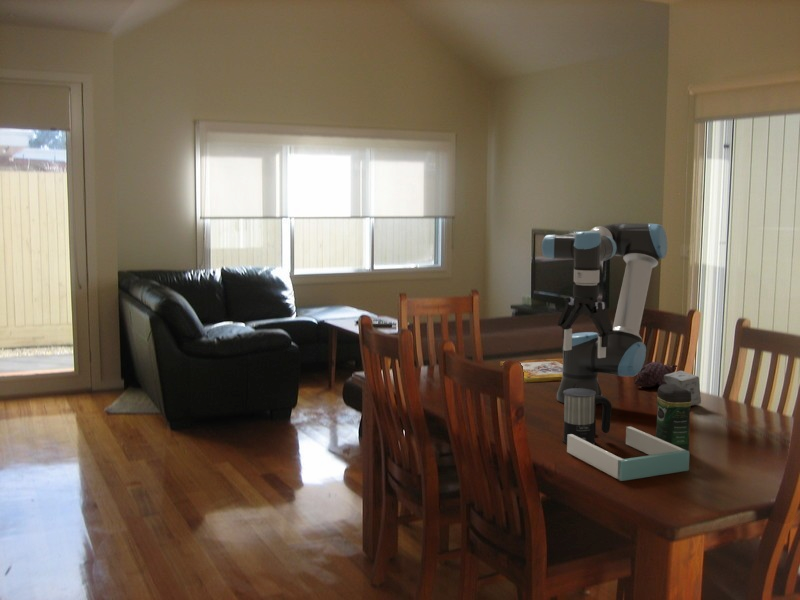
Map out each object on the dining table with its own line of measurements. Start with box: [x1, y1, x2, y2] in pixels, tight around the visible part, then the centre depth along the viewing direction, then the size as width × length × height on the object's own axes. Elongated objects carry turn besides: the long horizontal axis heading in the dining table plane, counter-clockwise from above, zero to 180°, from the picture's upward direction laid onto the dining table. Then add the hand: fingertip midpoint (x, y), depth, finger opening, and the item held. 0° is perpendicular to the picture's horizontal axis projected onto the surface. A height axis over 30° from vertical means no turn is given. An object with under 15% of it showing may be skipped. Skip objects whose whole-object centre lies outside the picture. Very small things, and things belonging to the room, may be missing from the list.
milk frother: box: [562, 388, 613, 445], centre depth 246 cm, size 14×16×15 cm
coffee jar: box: [655, 384, 691, 452], centre depth 233 cm, size 10×8×19 cm
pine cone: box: [634, 361, 678, 389], centre depth 307 cm, size 18×10×10 cm
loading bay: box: [566, 426, 690, 482], centre depth 226 cm, size 24×21×5 cm
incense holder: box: [664, 370, 702, 406], centre depth 283 cm, size 10×8×10 cm
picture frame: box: [499, 358, 563, 383], centre depth 332 cm, size 27×2×30 cm
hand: (584, 353), depth 254 cm, fingers open, 13 cm apart
